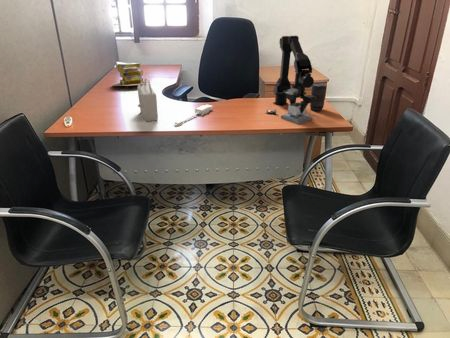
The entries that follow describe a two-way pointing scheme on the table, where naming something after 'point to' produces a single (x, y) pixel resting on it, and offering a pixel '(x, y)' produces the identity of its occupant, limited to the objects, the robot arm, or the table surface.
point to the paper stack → (129, 74)
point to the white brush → (199, 111)
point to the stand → (296, 118)
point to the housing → (296, 109)
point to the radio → (147, 101)
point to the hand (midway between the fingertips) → (297, 111)
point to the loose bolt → (271, 112)
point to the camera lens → (318, 96)
